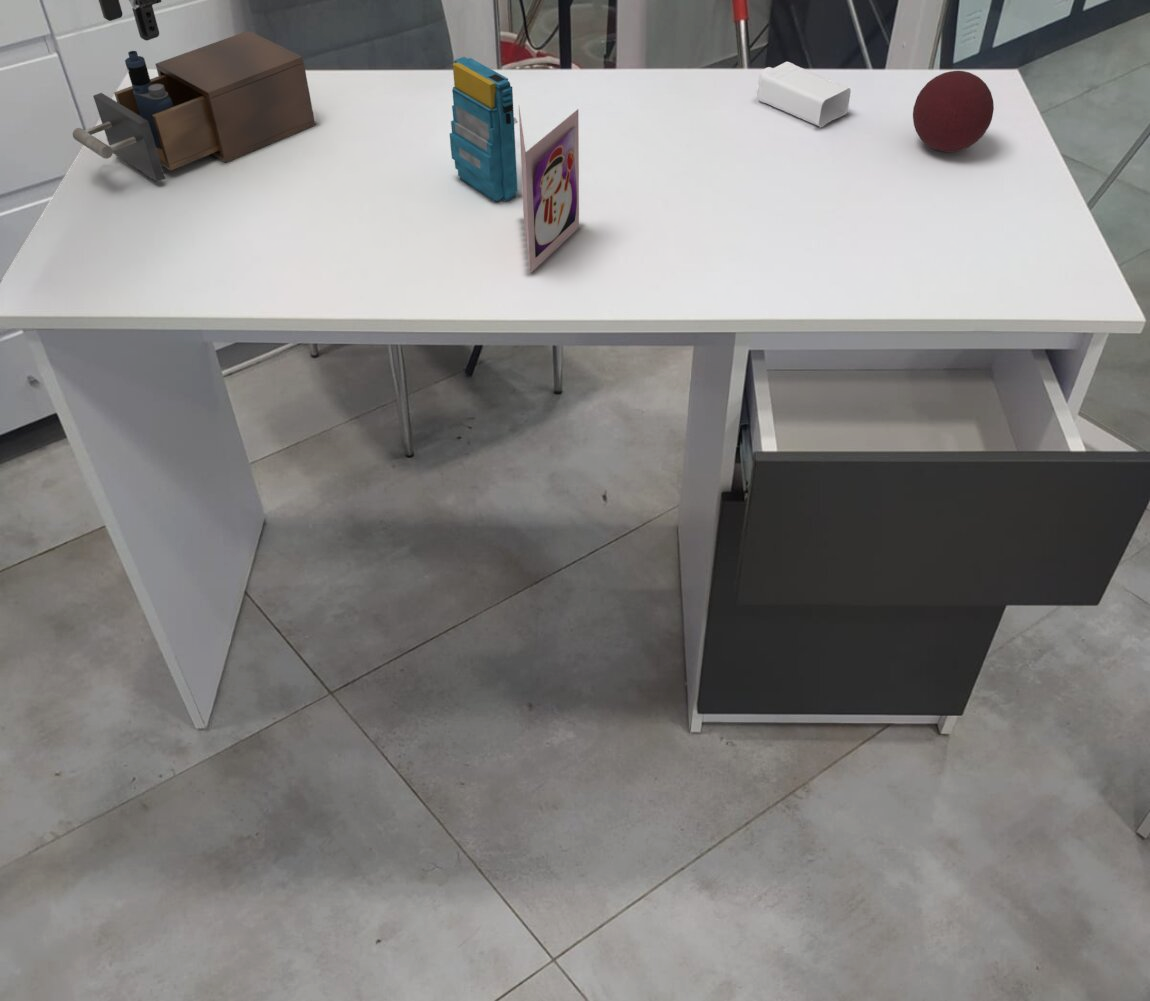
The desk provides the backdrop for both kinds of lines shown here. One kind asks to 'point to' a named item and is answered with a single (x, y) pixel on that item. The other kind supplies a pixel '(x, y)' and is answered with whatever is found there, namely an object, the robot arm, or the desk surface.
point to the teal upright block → (483, 130)
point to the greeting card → (550, 189)
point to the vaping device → (147, 92)
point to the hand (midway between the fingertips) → (132, 28)
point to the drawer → (178, 129)
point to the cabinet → (246, 91)
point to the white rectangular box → (803, 93)
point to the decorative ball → (953, 111)
